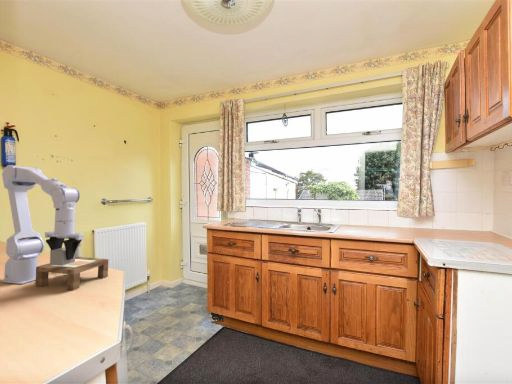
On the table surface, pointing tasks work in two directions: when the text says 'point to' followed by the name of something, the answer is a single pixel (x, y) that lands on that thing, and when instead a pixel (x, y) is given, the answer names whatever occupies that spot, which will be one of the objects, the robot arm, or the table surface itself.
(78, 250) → the salt shaker
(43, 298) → the table surface
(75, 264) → the trapdoor
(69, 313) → the table surface
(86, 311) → the table surface
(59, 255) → the pale grey cube
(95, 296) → the table surface
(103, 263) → the trapdoor frame
